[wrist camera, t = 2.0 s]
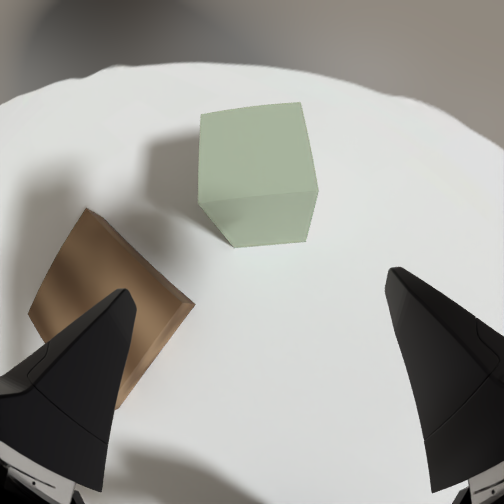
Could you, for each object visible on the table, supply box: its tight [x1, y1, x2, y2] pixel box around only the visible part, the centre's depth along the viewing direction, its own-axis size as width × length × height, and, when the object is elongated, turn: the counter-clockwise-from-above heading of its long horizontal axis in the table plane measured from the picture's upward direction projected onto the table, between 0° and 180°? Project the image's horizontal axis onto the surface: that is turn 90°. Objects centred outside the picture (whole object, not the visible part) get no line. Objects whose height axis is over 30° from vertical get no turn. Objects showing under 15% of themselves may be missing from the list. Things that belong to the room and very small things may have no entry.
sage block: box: [198, 102, 319, 248], centre depth 19 cm, size 6×6×10 cm
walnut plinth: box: [28, 208, 195, 410], centre depth 22 cm, size 14×14×3 cm
